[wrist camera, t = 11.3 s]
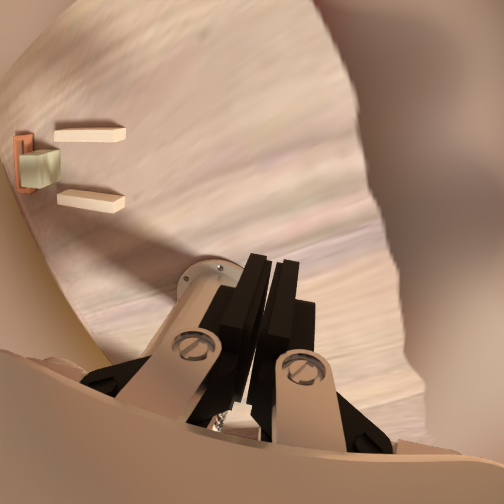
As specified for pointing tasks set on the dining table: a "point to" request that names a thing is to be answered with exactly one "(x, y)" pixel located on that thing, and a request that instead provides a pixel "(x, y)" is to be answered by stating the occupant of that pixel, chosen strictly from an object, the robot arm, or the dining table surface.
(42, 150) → the sage block
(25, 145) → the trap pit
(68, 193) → the walled channel
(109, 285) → the dining table surface
